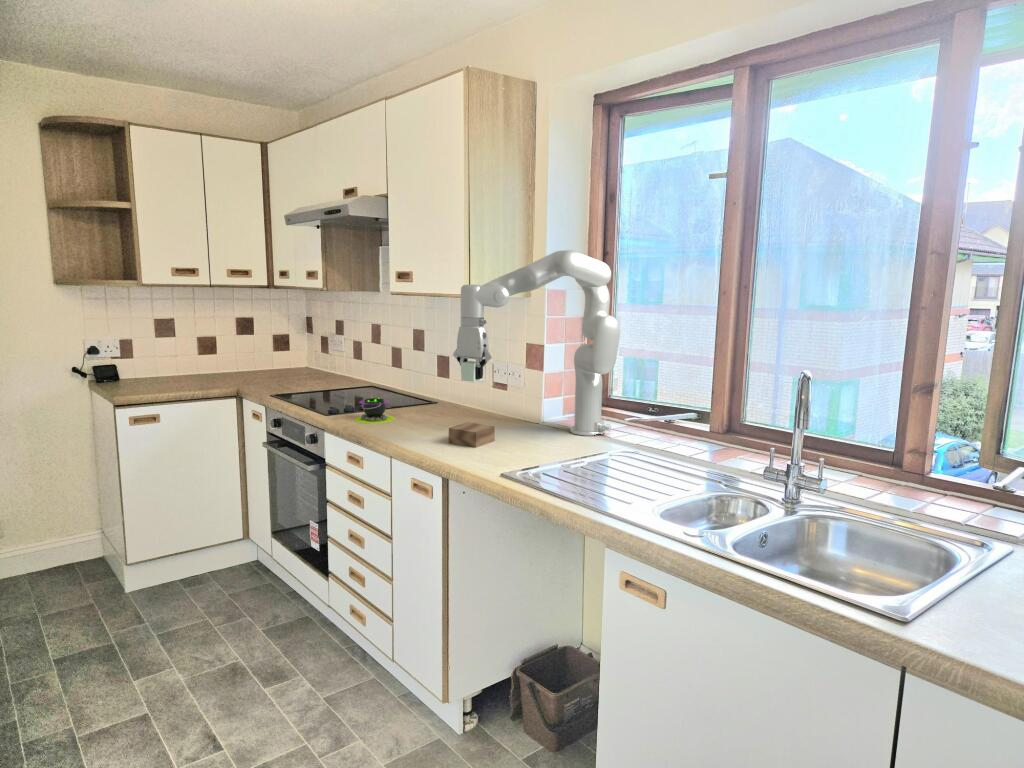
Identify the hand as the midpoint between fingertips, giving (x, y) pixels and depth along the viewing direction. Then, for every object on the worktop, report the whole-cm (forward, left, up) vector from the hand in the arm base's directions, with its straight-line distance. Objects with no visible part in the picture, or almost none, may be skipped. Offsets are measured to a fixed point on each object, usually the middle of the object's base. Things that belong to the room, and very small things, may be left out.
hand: (472, 377), depth 220 cm
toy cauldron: (+51, -8, -22) cm, 56 cm away
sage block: (0, 0, -1) cm, 1 cm away
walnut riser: (0, 0, -22) cm, 22 cm away
